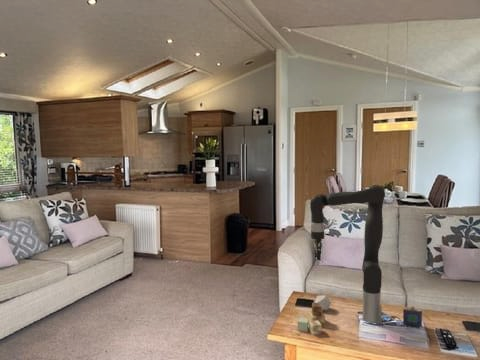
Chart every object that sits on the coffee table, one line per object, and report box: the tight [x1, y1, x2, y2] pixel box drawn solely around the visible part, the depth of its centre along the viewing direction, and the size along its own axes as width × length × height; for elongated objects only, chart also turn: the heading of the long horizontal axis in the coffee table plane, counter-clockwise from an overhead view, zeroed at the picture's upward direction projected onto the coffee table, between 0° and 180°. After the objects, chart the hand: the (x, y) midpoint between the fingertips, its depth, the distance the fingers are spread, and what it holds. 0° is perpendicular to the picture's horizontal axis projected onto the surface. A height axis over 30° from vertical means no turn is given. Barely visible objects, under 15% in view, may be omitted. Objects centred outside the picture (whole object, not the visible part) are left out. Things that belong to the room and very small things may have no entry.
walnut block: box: [311, 302, 323, 316], centre depth 201 cm, size 5×5×5 cm
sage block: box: [297, 317, 309, 333], centre depth 194 cm, size 5×5×5 cm
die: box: [314, 295, 332, 312], centre depth 216 cm, size 8×9×10 cm
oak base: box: [308, 310, 326, 326], centre depth 201 cm, size 7×7×5 cm
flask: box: [402, 305, 423, 328], centre depth 194 cm, size 9×3×11 cm, turn 74°
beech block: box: [308, 320, 322, 336], centre depth 191 cm, size 5×5×5 cm
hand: (317, 257), depth 209 cm, fingers open, 8 cm apart
